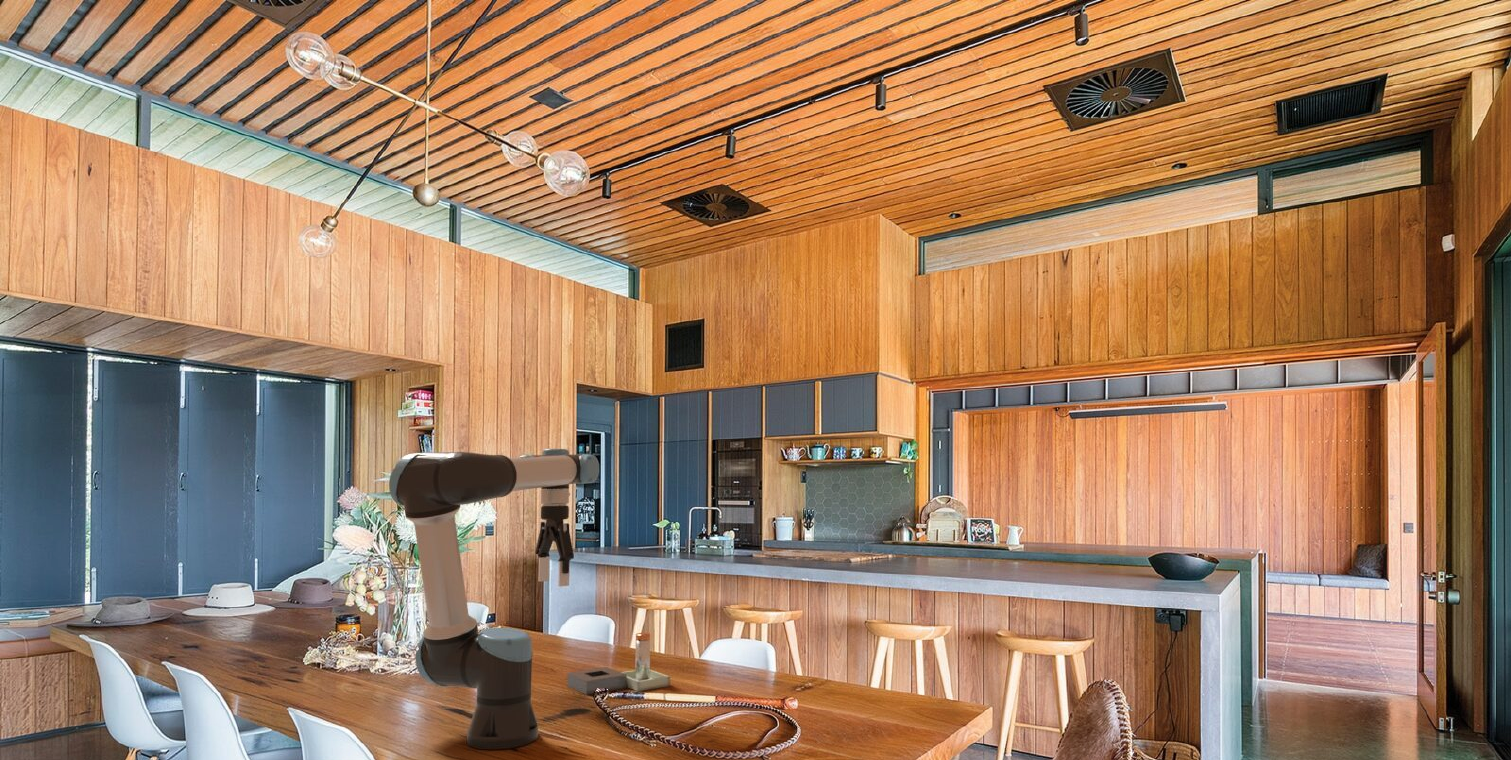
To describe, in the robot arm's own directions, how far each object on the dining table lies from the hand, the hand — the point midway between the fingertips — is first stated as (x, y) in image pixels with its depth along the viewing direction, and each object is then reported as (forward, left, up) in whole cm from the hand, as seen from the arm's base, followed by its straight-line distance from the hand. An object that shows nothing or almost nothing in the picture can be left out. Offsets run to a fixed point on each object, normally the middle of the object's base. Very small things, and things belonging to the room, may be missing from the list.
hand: (553, 583), depth 231 cm
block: (+13, -2, -29) cm, 31 cm away
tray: (+24, -7, -29) cm, 38 cm away
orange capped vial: (+24, -7, -28) cm, 38 cm away
